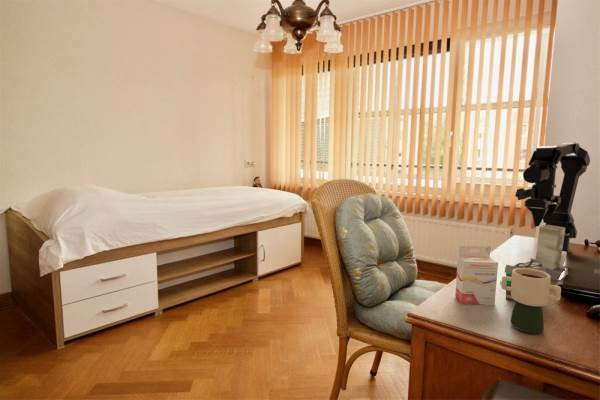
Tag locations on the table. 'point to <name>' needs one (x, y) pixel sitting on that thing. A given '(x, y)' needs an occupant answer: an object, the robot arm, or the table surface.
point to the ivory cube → (563, 257)
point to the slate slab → (555, 272)
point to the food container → (530, 265)
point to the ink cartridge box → (476, 276)
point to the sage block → (550, 246)
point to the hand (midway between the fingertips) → (541, 224)
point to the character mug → (529, 297)
